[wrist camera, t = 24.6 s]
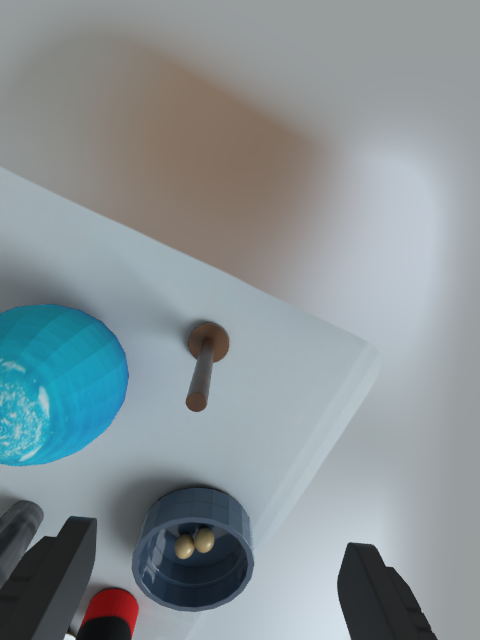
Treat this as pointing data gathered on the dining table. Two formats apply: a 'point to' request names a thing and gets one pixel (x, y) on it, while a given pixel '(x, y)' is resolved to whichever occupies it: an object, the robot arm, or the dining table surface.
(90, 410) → the decorative orb
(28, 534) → the beverage cup
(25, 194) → the dining table surface
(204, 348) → the stirrer
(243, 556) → the bowl
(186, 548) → the bead
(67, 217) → the dining table surface
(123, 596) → the soda can
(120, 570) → the dining table surface
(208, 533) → the bead
